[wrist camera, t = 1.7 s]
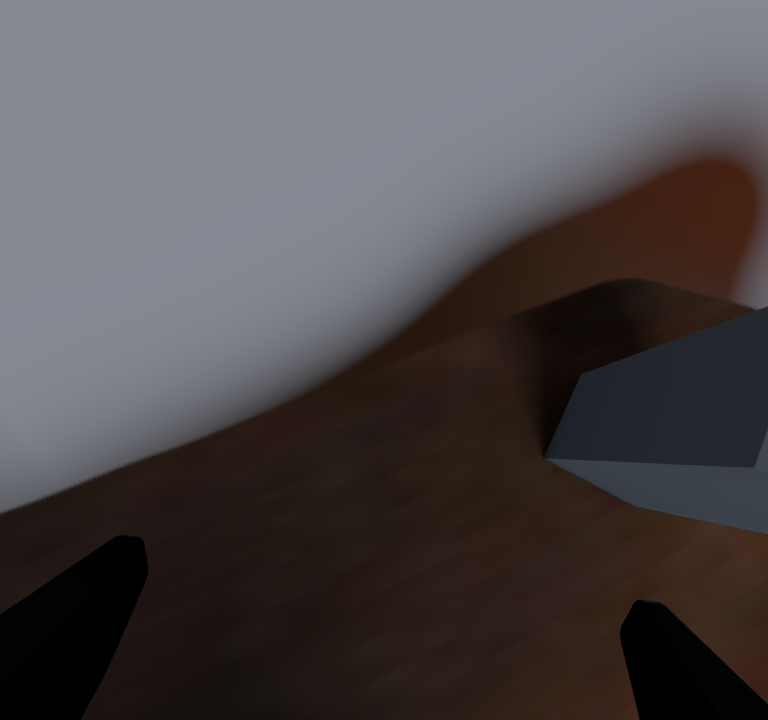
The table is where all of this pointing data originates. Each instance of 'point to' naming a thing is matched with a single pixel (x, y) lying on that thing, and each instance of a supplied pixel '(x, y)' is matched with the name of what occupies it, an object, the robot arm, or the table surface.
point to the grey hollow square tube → (678, 426)
